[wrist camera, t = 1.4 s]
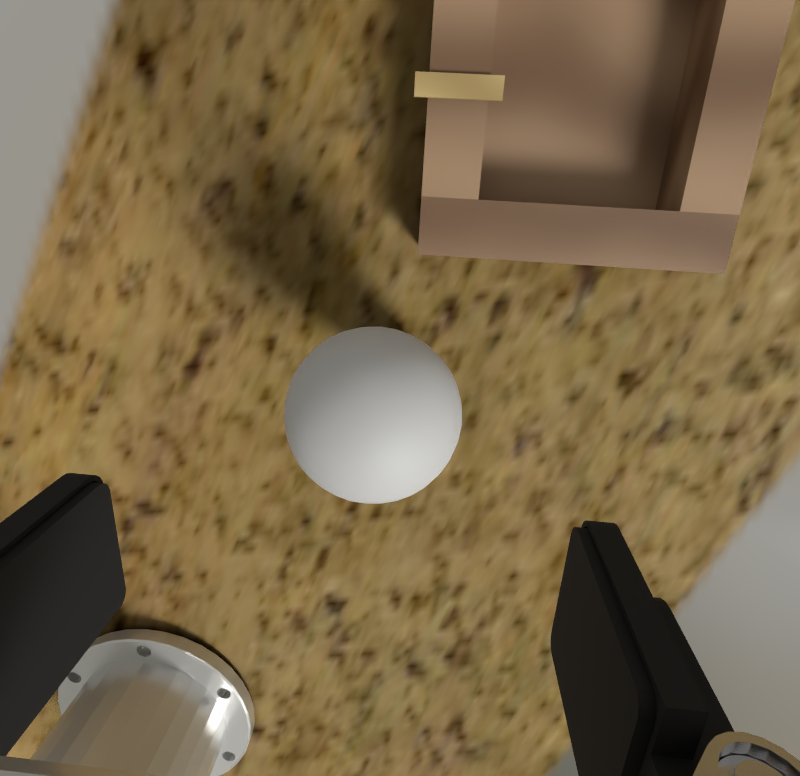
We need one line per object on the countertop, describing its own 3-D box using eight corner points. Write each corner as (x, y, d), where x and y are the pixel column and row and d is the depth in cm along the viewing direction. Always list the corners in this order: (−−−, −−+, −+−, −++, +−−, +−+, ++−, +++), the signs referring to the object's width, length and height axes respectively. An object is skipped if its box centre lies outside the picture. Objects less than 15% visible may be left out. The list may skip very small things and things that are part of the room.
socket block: (691, 264, 24) (726, 274, 21) (409, 246, 25) (405, 253, 22) (773, -86, 20) (832, -136, 17) (429, -97, 20) (427, -147, 17)
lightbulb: (331, 284, 25) (256, 346, 15) (462, 293, 25) (476, 363, 15) (329, 404, 27) (262, 532, 17) (450, 414, 27) (455, 550, 17)
